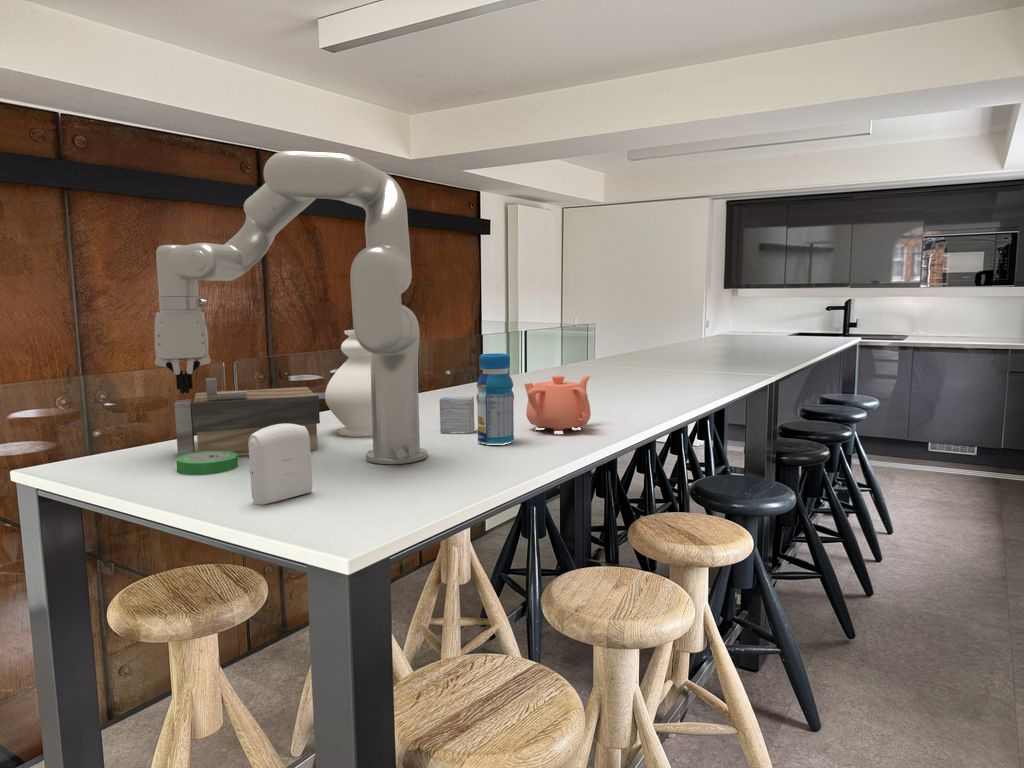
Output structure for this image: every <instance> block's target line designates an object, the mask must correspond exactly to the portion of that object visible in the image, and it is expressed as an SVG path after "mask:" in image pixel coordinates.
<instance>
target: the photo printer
mask: <svg viewBox="0 0 1024 768" xmlns="http://www.w3.org/2000/svg"><path fill="white" fill-rule="evenodd" d="M248 447H249V455H248V458H249V460H248V461H249V472H250V475H249V477H250V487H251V488H250V490H251V499H252V502H253V504H255V505H259V506H264V505H267V504H272V503H277V502H279V501H284V500H287V499H290V498H294V497H298V496H301V495H306V494H309V493H312V491H313V475H312V474H313V473H312V458H311V450H310V438H309V433H308V430H307V429H306V427H305V426H301V425H297V424H276V425H272V426H268V427H265V428H263V429H261V430H258V431H257V432H255V433H253V434H252V435H251V436H250V437H249V442H248Z"/></svg>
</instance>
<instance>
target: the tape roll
mask: <svg viewBox="0 0 1024 768" xmlns="http://www.w3.org/2000/svg"><path fill="white" fill-rule="evenodd" d="M238 457H239V456H238V455H237V454H236V453H235V452H230V451H203V452H198V451H195V453H189V454H185V455H182V456H180V457H178V456H177V457H176V472H177V473H178V474H180V475H185V476H207V475H214V474H219V473H225V472H229V471H232V470H235V469H237V468H238V467H239V458H238Z"/></svg>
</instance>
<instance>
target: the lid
mask: <svg viewBox="0 0 1024 768" xmlns="http://www.w3.org/2000/svg"><path fill="white" fill-rule="evenodd" d="M227 391H228V390H226V391H223V392H227ZM241 391H245V390H241ZM246 391H247V398H231V399H214V400H207V391H205V392H196V393H195V395H194V399H193V401H192V415H193V430H194V434H195V433H196V434H197V432H210V431H223V430H237V429H250V428H264V427H268V426H272V425H276V424H297V425H305V424H320V423H321V420H320V419H321V418H320V416H321V415H320V395H316V394H315V393H314V392H313V391H312V390H311V389H310V388H309V387H308V386H298V387H282V388H263V389H246Z"/></svg>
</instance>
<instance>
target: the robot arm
mask: <svg viewBox="0 0 1024 768" xmlns="http://www.w3.org/2000/svg"><path fill="white" fill-rule="evenodd" d="M263 179H264V183H263V184H262V186H259V188H258V189H257V190H256V191H255V192H253V194H252V195H250V196H249V197H248V198H246V200H245V201H244V203H243V211H244V213H245V222H244V223H243V225H242V227H241V228H240V229H239V230H238V232H237V233H235V235H233V237H231V238H230V239H229V240H228V241H227V242H225V243H224V244H218V243H210V242H209V243H208V242H196V243H192V244H187V245H184V244H163V245H159V246H158V247H157V248H156V251H155V252H156V253H155V256H156V257H155V258H156V271H157V289H158V301H159V311H157V312H156V314H155V320H154V350H155V351H154V353H155V360H154V365H156V366H158V367H163V368H164V367H165V368H167V369H169V370H170V371H171V372H172V373H174V374H175V379H176V382H175V383H176V390H179V391H180V394H189V393H190V390H192V389H193V372H195V371H196V370H197V368H198V367H201V366H204V365H209V364H210V363H211V357H210V354H209V352H210V350H209V349H210V344H209V343H210V342H209V336H208V335H209V334H208V326H207V320H206V318H205V317H206V316H205V312H204V311H201V310H200V308H201V307H206V306H207V299H203V298H200V296H199V281H200V280H201V281H209V282H210V281H213V282H214V281H215V282H216V281H222V282H223V281H224V282H226V281H227V282H229V281H234V280H236V279H238V278H240V277H242V276H243V275H244V274H245V273H247V272H248V271H249V270H250V269H251V268H252V267H253V266H255V265H256V264H257V263H258V262H259V261H260V260H262V258H263V257H264V256H265V255H266V254H267V252H268V251H269V249H270V247H271V245H272V244H273V242H274V240H275V237H276V236H277V234H279V233H280V231H281V230H283V229H284V228H285V227H286V226H287V225H288V224H289V223H290V222H291V221H292V220H293V219H294V218H296V217H297V216H298V215H299V214H300V213H301V212H303V211H304V210H306V208H308V207H309V206H310V205H311V204H312V203H313V202H314V201H315V200H317V199H327V200H336V201H340V202H341V201H342V202H344V203H347V204H350V205H353V206H355V207H357V206H358V207H360V208H363V210H364V211H365V223H364V233H365V245H366V247H365V248H363V249H362V250H361V251H359V252H358V253H357V255H356V256H355V258H354V259H353V261H352V264H351V268H350V274H349V275H350V276H349V277H350V278H349V279H350V296H351V297H350V298H351V312H352V326H353V330H354V332H355V336H356V338H357V340H358V342H359V344H360V345H361V346H362V347H363V348H364V349H365V350H367V351H369V352H371V353H372V356H371V404H372V433H373V436H372V449H371V450H368V451H367V452H366V453H365V460H366V461H367V462H370V463H373V464H379V465H399V464H409V463H416V462H419V461H420V462H421V461H423V460H425V459H426V458H428V456H429V455H428V450H427V449H426V448H423V447H421V444H420V443H421V440H420V407H419V406H420V403H419V400H420V399H419V398H420V397H419V349H420V333H421V332H420V325H419V321H418V319H417V316H416V315H415V313H414V311H412V310H411V309H410V308H409V307H407V306H405V305H404V304H402V294H403V293H404V292H406V291H407V290H408V288H409V286H410V285H411V283H412V278H413V272H412V271H413V270H412V262H411V259H412V258H411V247H410V246H411V245H410V233H409V224H408V223H409V220H408V209H407V208H408V206H407V201H406V198H405V194H404V191H403V189H402V188H401V186H400V184H399V183H398V182H397V181H396V180H395V179H394V178H393V177H392V176H390V175H389V174H388V173H386V172H384V171H382V170H381V169H378V168H377V167H375V166H373V165H371V164H369V163H367V162H366V161H364V160H361V159H359V158H357V157H356V156H352V155H351V154H347V153H342V152H341V153H340V152H327V151H326V152H325V151H324V152H323V151H320V152H319V151H301V150H283V151H282V150H281V151H278V152H276V153H274V154H273V155H272V156H271V157H269V158H268V160H267V161H266V162H265V165H264V168H263ZM198 280H199V281H198ZM181 360H182V361H183V360H186V361H187V362H186V370H184V371H183V370H182V369H181V364H180V361H181ZM183 372H184V373H183Z"/></svg>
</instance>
